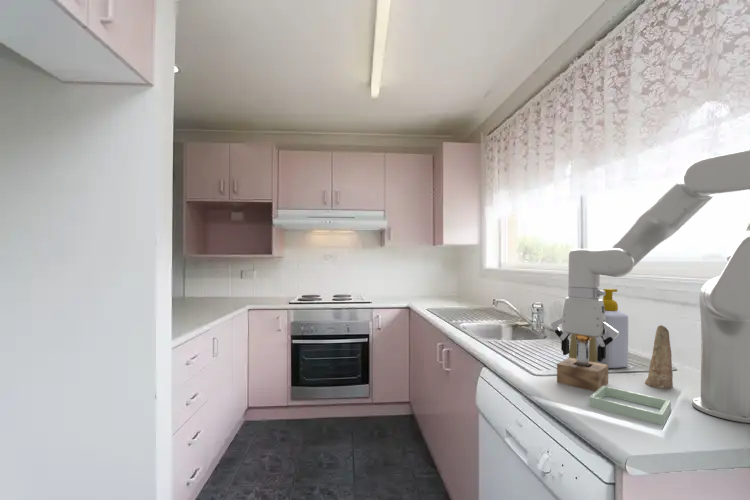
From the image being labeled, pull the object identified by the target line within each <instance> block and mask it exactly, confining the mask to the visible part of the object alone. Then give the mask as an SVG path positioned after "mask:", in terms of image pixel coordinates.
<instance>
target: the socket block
mask: <svg viewBox="0 0 750 500" xmlns="http://www.w3.org/2000/svg"><path fill="white" fill-rule="evenodd" d="M556 383H558V384H563V385H565V386H571V387H573V388H574V387H575V388H579V389H583V390H587V391H592V392H594V393H595V392H596V391H597V390H598V389H599V388H601V387H602V386H607V385H608V384H609V368H608V365H606V364H601V363H596V362H591V361H589V367H584V366H579V365H577V359H575V358H569V357H567V358H566V359H564V360H562V361H560V362H557V364H556Z"/></svg>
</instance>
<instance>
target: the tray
mask: <svg viewBox="0 0 750 500" xmlns="http://www.w3.org/2000/svg"><path fill="white" fill-rule="evenodd" d="M606 396H607V397H612V398H616V399H619V400H620V399H621V400H625V401H629V402H632V403H637V404H641V405H646V406H649V407H654V408H658V409H660V410H659V411H658V412H656V411H652V410H649V409H645V408H641V407H636V406H634V405H633V406H632V405H628V404H625V403H620V402H616V401H613V400H608V399H604V397H606ZM588 401H589V402H588V403H589V407H594V408H596V409H600V410H603V411H608V412H612V413H616V414H619V415H623V416H626V417H629V418H630V417H631V418H635V419H639V420H642V421H645V422H650V423H653V424H656V425H660V426H661V425H662V428H661V430H663V429H664V427H665V425H666V423H667V421H668V420H669V417H670V415H671V410H672V409H671V407H672V406H671V402H672V401H671V400H670V399H666V398H661V397H657V396H652V395H648V394H643V393H638V392H635V391H630V390H625V389H620V388H616V387H613V386H607V385H606V386H602V387H601V388H599V389H598V390H597V391H596V392H595V391H594V392H593V393H592V394H591V395H590V396H589V400H588Z"/></svg>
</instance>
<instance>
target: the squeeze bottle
mask: <svg viewBox="0 0 750 500" xmlns="http://www.w3.org/2000/svg"><path fill="white" fill-rule="evenodd" d="M568 358H575V359H577V339H576V338H575V334H570V340H569V354H568ZM589 361H591V362H596V363H597V348H596V338H595V337H591V340H589Z"/></svg>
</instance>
